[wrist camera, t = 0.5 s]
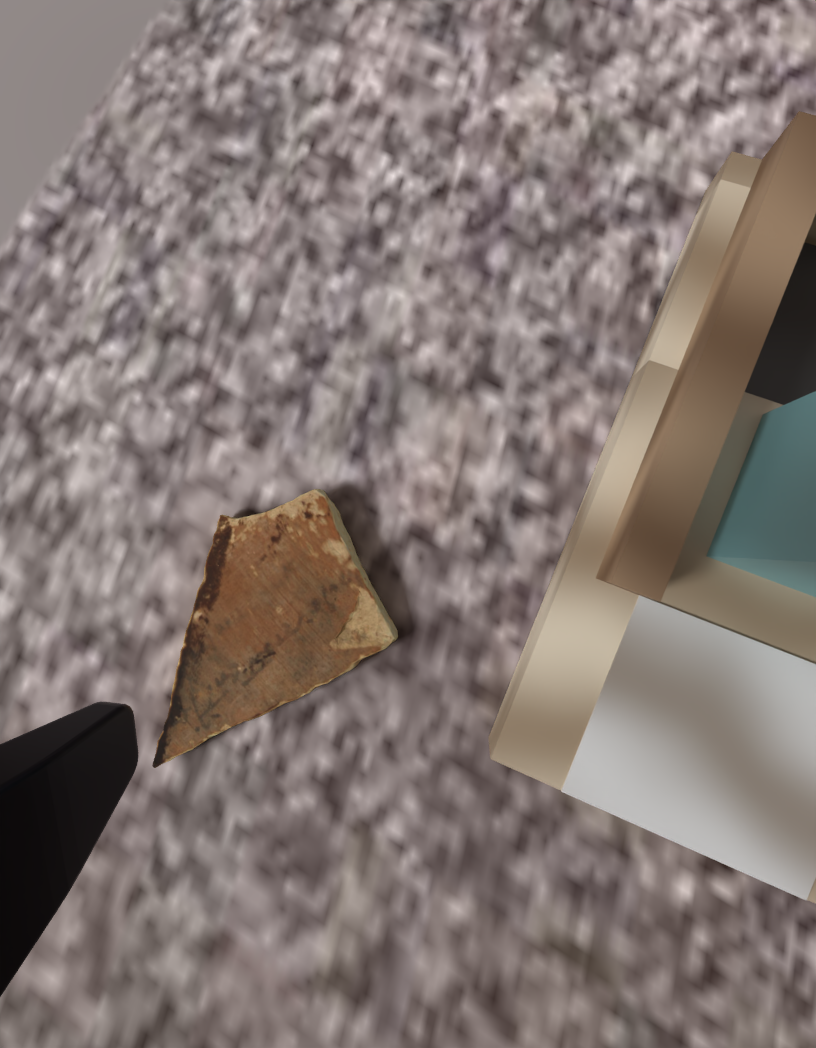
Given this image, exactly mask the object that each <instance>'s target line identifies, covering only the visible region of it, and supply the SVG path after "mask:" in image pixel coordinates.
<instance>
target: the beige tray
mask: <svg viewBox="0 0 816 1048" xmlns="http://www.w3.org/2000/svg"><path fill="white" fill-rule="evenodd" d="M815 391H816V116H815V115H811V114H807V113H804V112H800V111H799V112H798V113H797V115H796V116H795V117H794V119H793V120H792V121H791V122H790V124H789V125H788V126H787V128H786V129H785V130H784V132H783V133H782V134H781V136H780V137H779V138H778V140H777V141H776V142H775V143H774V145H773V146H772V147H771V149H770V150H769V151H768V153H767V154H766V155H765V157H764V158H763V159H762V160H761V159H757V158H754V157H750V156H746V155H743V154H739V153H736V152H731V154H730V155H729V157H728V158H727V160H726V161H725V163H724V164H723V166H722V167H721V169H720V170H719V172H718V173H717V175H716V176H715V178H714V179H713V181H712V182H711V184H710V185H709V187H708V188H707V190H706V191H705V194H704V196H703V199H702V201H701V204H700V206H699V209H698V211H697V214H696V216H695V219H694V221H693V224H692V227H691V229H690V232H689V234H688V237H687V239H686V242H685V244H684V247H683V249H682V252H681V254H680V257H679V259H678V262H677V264H676V267H675V269H674V272H673V274H672V277H671V279H670V282H669V284H668V287H667V289H666V292H665V294H664V297H663V300H662V302H661V305H660V307H659V310H658V312H657V315H656V317H655V320H654V322H653V325H652V327H651V330H650V332H649V335H648V337H647V340H646V342H645V345H644V347H643V350H642V352H641V355H640V357H639V360H638V362H637V365H636V367H635V370H634V373H633V375H632V378H631V380H630V383H629V385H628V388H627V390H626V393H625V395H624V398H623V400H622V403H621V405H620V408H619V410H618V413H617V415H616V418H615V420H614V423H613V425H612V428H611V430H610V433H609V435H608V438H607V440H606V443H605V445H604V448H603V451H602V453H601V456H600V458H599V461H598V463H597V466H596V468H595V471H594V473H593V476H592V478H591V481H590V483H589V486H588V488H587V491H586V493H585V496H584V498H583V501H582V503H581V506H580V508H579V511H578V513H577V516H576V518H575V521H574V524H573V526H572V529H571V531H570V534H569V536H568V539H567V541H566V544H565V546H564V549H563V551H562V554H561V556H560V559H559V561H558V564H557V566H556V569H555V571H554V574H553V576H552V579H551V581H550V584H549V586H548V589H547V591H546V594H545V597H544V599H543V602H542V604H541V607H540V609H539V612H538V614H537V617H536V619H535V622H534V624H533V627H532V629H531V632H530V634H529V637H528V639H527V642H526V644H525V647H524V649H523V652H522V654H521V657H520V659H519V662H518V664H517V667H516V669H515V672H514V675H513V677H512V680H511V682H510V685H509V687H508V690H507V692H506V695H505V697H504V700H503V702H502V705H501V707H500V710H499V712H498V715H497V717H496V720H495V722H494V725H493V727H492V730H491V732H490V735H489V737H488V738H489V748H490V758H491V759H492V760H494V761H496V762H498V763H501V764H503V765H505V766H507V767H510V768H512V769H514V770H516V771H519V772H521V773H523V774H525V775H528V776H530V777H532V778H534V779H537V780H539V781H541V782H543V783H546V784H548V785H550V786H552V787H555V788H557V789H559V790H561V791H562V792H563V793H565V794H568V795H570V796H572V797H574V798H577V799H579V800H581V801H583V802H586V803H588V804H590V805H592V806H595V807H597V808H599V809H601V810H604V811H606V812H608V813H610V814H613V815H615V816H617V817H619V818H622V819H624V820H626V821H628V822H631V823H633V824H635V825H637V826H640V827H642V828H644V829H646V830H649V831H651V832H653V833H655V834H658V835H660V836H662V837H664V838H667V839H669V840H671V841H673V842H676V843H678V844H680V845H682V846H685V847H687V848H689V849H691V850H694V851H696V852H698V853H700V854H703V855H705V856H707V857H709V858H712V859H714V860H716V861H718V862H721V863H723V864H725V865H727V866H730V867H732V868H734V869H736V870H739V871H741V872H743V873H745V874H748V875H750V876H752V877H754V878H757V879H759V880H761V881H763V882H766V883H768V884H770V885H772V886H775V887H777V888H779V889H781V890H784V891H786V892H788V893H790V894H793V895H795V896H797V897H799V898H802V899H804V900H809V901H811V902H813V903H816V597H813V596H811V595H808V594H805V593H803V592H800V591H797V590H795V589H792V588H789V587H787V586H784V585H781V584H779V583H776V582H774V581H771V580H768V579H766V578H763V577H760V576H758V575H755V574H752V573H750V572H747V571H744V570H742V569H739V568H736V567H734V566H731V565H728V564H726V563H723V562H720V561H718V560H715V559H712V558H710V557H707V556H706V555H707V553H708V550H709V548H710V545H711V543H712V540H713V538H714V535H715V533H716V530H717V528H718V525H719V523H720V520H721V518H722V515H723V513H724V510H725V508H726V505H727V503H728V500H729V498H730V495H731V493H732V490H733V488H734V485H735V483H736V480H737V478H738V475H739V473H740V470H741V468H742V465H743V463H744V460H745V458H746V455H747V453H748V450H749V448H750V445H751V443H752V440H753V438H754V435H755V433H756V430H757V428H758V425H759V423H760V420H761V418H762V415H763V414H765V413H767V412H769V411H772V410H774V409H776V408H778V407H781V406H783V405H785V404H787V403H790V402H792V401H794V400H797V399H799V398H801V397H803V396H806V395H808V394H810V393H812V392H815Z"/></svg>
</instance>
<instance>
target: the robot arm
mask: <svg viewBox="0 0 816 1048" xmlns="http://www.w3.org/2000/svg"><path fill="white" fill-rule="evenodd" d="M137 762H138V746H137V738H136V729H135V721H134V714H133V711H132V709H131V707H130V706H128V705H126V704H120V703H111V702H97V703H94V704H92V705H90V706H87V707H85V708H83V709H80V710H78V711H76V712H74V713H71V714H69V715H67V716H64V717H62V718H60V719H57V720H55V721H53V722H51V723H48V724H46V725H44V726H41V727H39V728H37V729H35V730H32V731H30V732H28V733H25V734H23V735H21V736H18V737H16V738H14V739H12V740H9V741H7V742H5V743H2V744H0V997H1V995H2V994H3V992H4V991H5V989H6V988H7V986H8V984H9V983H10V981H11V980H12V978H13V977H14V975H15V974H16V972H17V971H18V969H19V968H20V966H21V965H22V963H23V962H24V960H25V959H26V957H27V956H28V954H29V953H30V951H31V950H32V948H33V947H34V945H35V943H36V942H37V940H38V939H39V937H40V936H41V934H42V933H43V931H44V930H45V928H46V927H47V925H48V924H49V922H50V921H51V919H52V918H53V916H54V915H55V913H56V912H57V910H58V908H59V907H60V905H61V904H62V902H63V900H64V899H65V897H66V896H67V894H68V893H69V891H70V889H71V888H72V886H73V884H74V882H75V881H76V879H77V877H78V875H79V874H80V872H81V870H82V868H83V867H84V865H85V863H86V861H87V859H88V857H89V855H90V854H91V852H92V850H93V848H94V846H95V844H96V843H97V841H98V839H99V837H100V835H101V833H102V831H103V830H104V828H105V826H106V824H107V822H108V820H109V819H110V817H111V815H112V813H113V811H114V809H115V808H116V806H117V804H118V802H119V800H120V798H121V796H122V795H123V793H124V791H125V789H126V787H127V785H128V784H129V782H130V780H131V778H132V776H133V774H134V772H135V769H136V766H137Z"/></svg>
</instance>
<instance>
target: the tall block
mask: <svg viewBox="0 0 816 1048" xmlns="http://www.w3.org/2000/svg"><path fill="white" fill-rule="evenodd" d="M706 556H707V557H710V558H712V559H715V560H718V561H720V562H723V563H726V564H728V565H731V566H734V567H736V568H739V569H742V570H744V571H747V572H750V573H752V574H755V575H758V576H760V577H763V578H766V579H768V580H771V581H774V582H776V583H779V584H781V585H784V586H787V587H789V588H792V589H795V590H797V591H800V592H803V593H805V594H808V595H811V596H813V597H816V391H815V392H812V393H810V394H808V395H806V396H803V397H801V398H799V399H797V400H794V401H792V402H790V403H787V404H785V405H783V406H781V407H778V408H776V409H774V410H772V411H769V412H767V413H765V414H763V415H762V418H761V420H760V423H759V425H758V428H757V430H756V433H755V435H754V438H753V440H752V443H751V445H750V448H749V450H748V453H747V455H746V458H745V460H744V463H743V465H742V468H741V470H740V473H739V475H738V478H737V480H736V483H735V485H734V488H733V490H732V493H731V495H730V498H729V500H728V503H727V505H726V508H725V510H724V513H723V515H722V518H721V520H720V523H719V525H718V528H717V530H716V533H715V535H714V538H713V540H712V543H711V545H710V548H709V550H708V553H707V555H706Z"/></svg>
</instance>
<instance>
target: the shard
mask: <svg viewBox="0 0 816 1048" xmlns="http://www.w3.org/2000/svg"><path fill="white" fill-rule="evenodd" d="M397 638H398V631H397V629H396V627H395V625H394V623H393V621H392V620H391V618H390V617H389V615H388V614H387V612H386V610H385V608H384V606H383V604H382V602H381V601H380V599H379V597H378V595H377V593H376V591H375V590H374V588H373V586H372V585H371V582H370V581H369V579H368V576H367V574H366V572H365V570H364V569H363V567H362V566H361V564H360V561H359V558H358V556H357V554H356V551H355V548H354V546H353V543H352V541H351V538H350V535H349V534H348V533H347V530H346V528H345V526H344V525H343V522H342V519H341V516H340V512H339V511H338V509H337V508H336V507H335V505H334V503H333V502H332V501H331V500H330V499H329V498H328V496H327V495H326V493H325V491H323V490H320V489H314V490H312V491H309V492H307V493H305V494H303V495H301V496H299V497H297V498H296V499H294V500H293V501H290V502H287V503H285V504H283V505H281V506H278V507H277V508H275V509H272V510H269V511H267V512H264V513H261V514H255V515H251V516H247V517H242V518H233V517H229V516H225V515H220V518H219V521H218V525H217V530H216V532H215V534H214V537H213V544H212V547H211V549H210V551H209V553H208V556H207V560H206V565H205V568H204V580H203V582H202V584H201V585H200V587H199V589H198V592H197V596H196V601H195V604H194V609H193V612H192V615H191V618H190V621H189V624H188V627H187V630H186V633H185V637H184V643H183V647H182V649H181V652H180V658H179V662H178V666H177V669H176V676H175V681H174V685H173V690H172V695H171V705H170V708H169V713H168V718H167V720H166V722H165V725H164V731H163V732H162V734H161V736H160V738H159V740H158V743H157V750H156V754H155V758H154V761H153V767H154V768H156V767H158V766H159V765H161V764H163V763H165V762H168V761H170V760H172V759H174V758H175V757H176V756H179V755H181V754H183V753H185V752H187V751H189V750H192V749H194V748H195V747H197V746H198V745H200V744H201V743H203V742H204V741H206V740H207V739H209V738H210V737H212V736H215V735H217V734H219V733H221V732H223V731H225V730H227V729H229V728H231V727H232V726H235V725H237V724H240V723H242V722H244V721H249V720H252V719H254V718H257V717H260V716H262V715H264V714H266V713H268V712H270V711H272V710H274V709H275V708H277V707H278V706H281V705H283V704H285V703H287V702H290V701H293V700H296V699H298V698H300V697H302V696H304V695H305V694H308V693H310V692H311V691H312V690H313V689H314V688H316V687H319V686H320V685H323V684H327V683H329V682H330V681H331V680H332V679H334V678H336V677H338V676H340V675H342V674H344V673H346V672H348V671H350V670H351V669H353V668H354V667H356V666H357V664H358V663H359V662H360V661H361V660H362V659H363V658H365V657H368V656H370V655H372V654H374V653H377V652H379V651H381V650H384V649H386V648H387V647H388V646H389V645H390V644H391V643H392V642H394V641H395V640H396V639H397Z"/></svg>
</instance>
